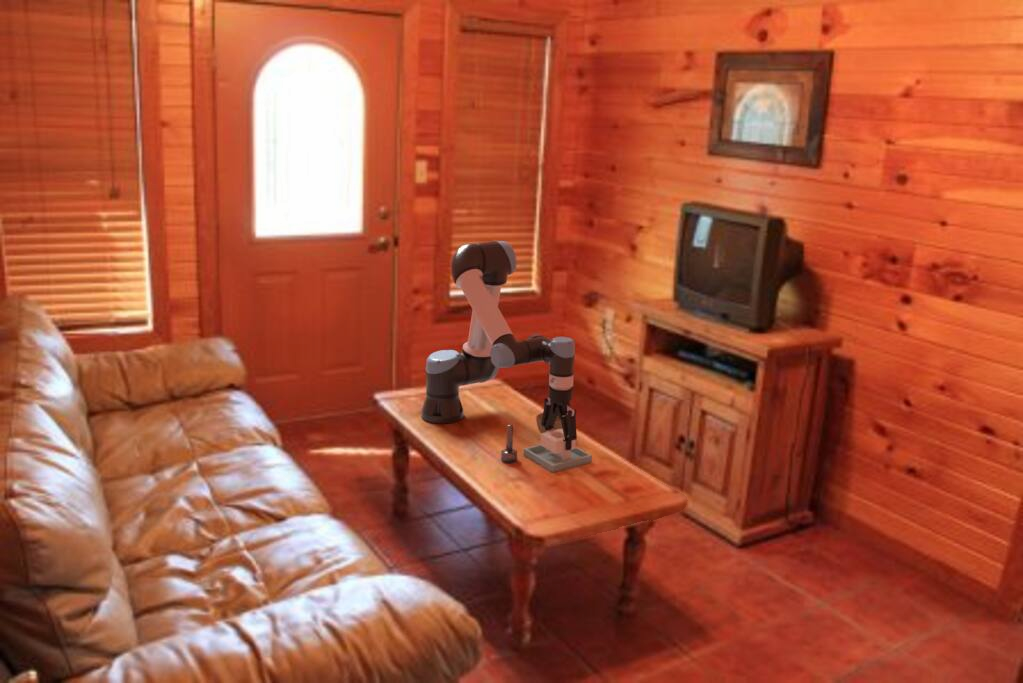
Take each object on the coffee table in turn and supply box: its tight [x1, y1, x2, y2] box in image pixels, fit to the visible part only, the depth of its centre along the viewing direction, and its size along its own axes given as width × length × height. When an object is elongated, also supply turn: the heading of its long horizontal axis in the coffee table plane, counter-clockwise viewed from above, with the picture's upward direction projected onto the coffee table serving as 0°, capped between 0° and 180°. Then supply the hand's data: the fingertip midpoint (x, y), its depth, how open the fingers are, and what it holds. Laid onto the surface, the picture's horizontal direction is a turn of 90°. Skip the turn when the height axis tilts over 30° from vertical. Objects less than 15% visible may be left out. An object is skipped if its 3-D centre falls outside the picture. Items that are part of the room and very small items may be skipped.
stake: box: [500, 423, 518, 464], centre depth 275 cm, size 5×5×12 cm
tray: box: [523, 444, 593, 474], centre depth 279 cm, size 16×16×2 cm
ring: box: [539, 429, 577, 454], centre depth 277 cm, size 8×8×4 cm
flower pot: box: [535, 412, 565, 434], centre depth 296 cm, size 10×10×7 cm
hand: (557, 453), depth 279 cm, fingers closed on ring, 8 cm apart
